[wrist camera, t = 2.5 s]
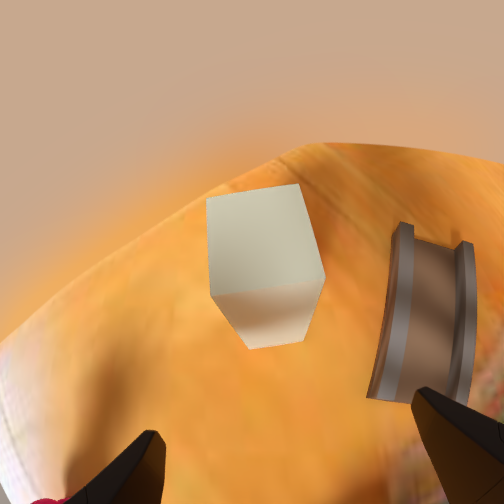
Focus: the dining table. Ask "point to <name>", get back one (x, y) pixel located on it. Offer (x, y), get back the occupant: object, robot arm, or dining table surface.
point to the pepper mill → (50, 501)
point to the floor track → (427, 321)
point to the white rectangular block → (264, 264)
